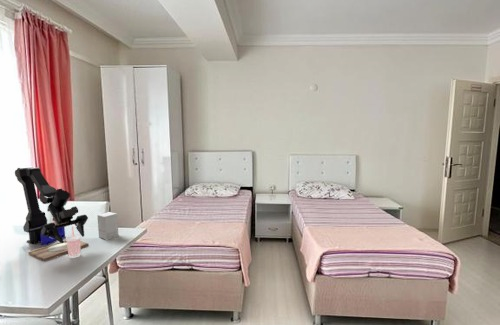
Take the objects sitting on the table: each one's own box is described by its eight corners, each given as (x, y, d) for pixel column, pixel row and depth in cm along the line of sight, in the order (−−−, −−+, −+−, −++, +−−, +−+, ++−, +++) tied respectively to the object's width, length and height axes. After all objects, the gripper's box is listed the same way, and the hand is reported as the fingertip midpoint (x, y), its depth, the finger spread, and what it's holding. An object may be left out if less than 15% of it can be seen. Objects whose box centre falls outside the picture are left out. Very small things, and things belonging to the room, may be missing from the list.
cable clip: (57, 236, 158) (57, 225, 158) (65, 236, 158) (64, 226, 157) (38, 244, 147) (37, 233, 146) (46, 245, 146) (45, 234, 145)
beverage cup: (68, 254, 135) (65, 225, 133) (83, 252, 137) (81, 223, 136) (65, 259, 129) (63, 229, 128) (81, 257, 131) (79, 227, 130)
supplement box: (119, 235, 158) (117, 213, 157) (106, 240, 152) (104, 216, 151) (111, 233, 162) (109, 211, 161) (98, 237, 156) (96, 214, 155)
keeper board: (28, 254, 135) (28, 251, 134) (73, 240, 152) (72, 237, 152) (43, 261, 127) (43, 258, 127) (88, 245, 145) (88, 242, 144)
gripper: (41, 206, 125) (57, 235, 121) (84, 198, 141) (99, 223, 137) (34, 221, 130) (49, 250, 125) (76, 211, 146) (91, 236, 141)
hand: (73, 239), depth 132 cm, fingers open, 9 cm apart
